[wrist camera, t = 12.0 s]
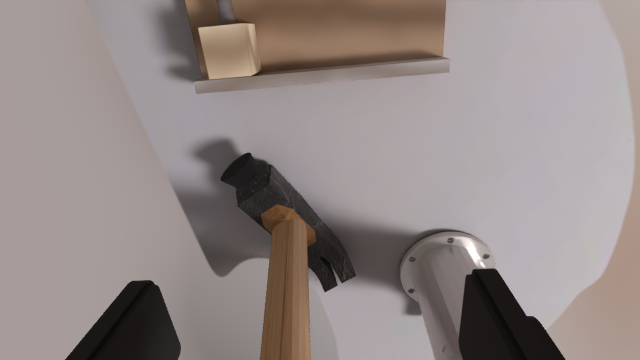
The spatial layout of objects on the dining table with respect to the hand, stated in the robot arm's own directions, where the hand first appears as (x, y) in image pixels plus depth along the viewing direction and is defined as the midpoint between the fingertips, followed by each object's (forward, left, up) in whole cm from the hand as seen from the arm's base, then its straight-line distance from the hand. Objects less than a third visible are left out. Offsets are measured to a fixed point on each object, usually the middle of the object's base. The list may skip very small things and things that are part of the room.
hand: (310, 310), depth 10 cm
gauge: (+9, +9, -28) cm, 31 cm away
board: (+9, +1, -30) cm, 32 cm away
